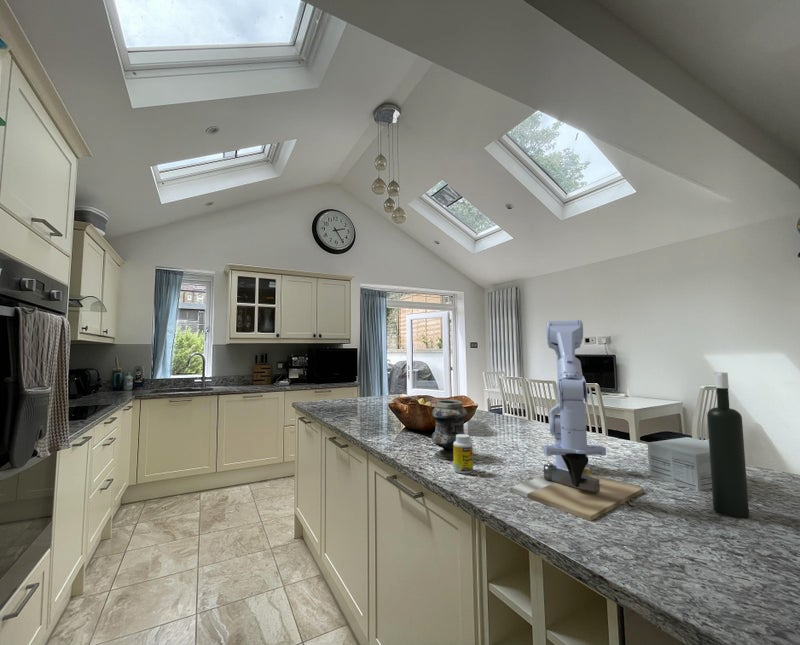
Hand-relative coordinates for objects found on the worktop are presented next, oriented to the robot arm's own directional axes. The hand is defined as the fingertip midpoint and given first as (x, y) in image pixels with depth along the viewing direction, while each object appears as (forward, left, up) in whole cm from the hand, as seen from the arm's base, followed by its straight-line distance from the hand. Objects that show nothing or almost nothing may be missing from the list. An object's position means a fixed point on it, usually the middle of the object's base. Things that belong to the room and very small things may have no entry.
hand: (575, 485), depth 90 cm
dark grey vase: (+1, -43, -3) cm, 43 cm away
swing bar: (-2, -3, -1) cm, 4 cm away
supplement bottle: (+9, -29, -3) cm, 31 cm away
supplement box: (-37, +13, -3) cm, 39 cm away
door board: (-2, -1, -2) cm, 4 cm away
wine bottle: (-17, +25, -3) cm, 30 cm away
